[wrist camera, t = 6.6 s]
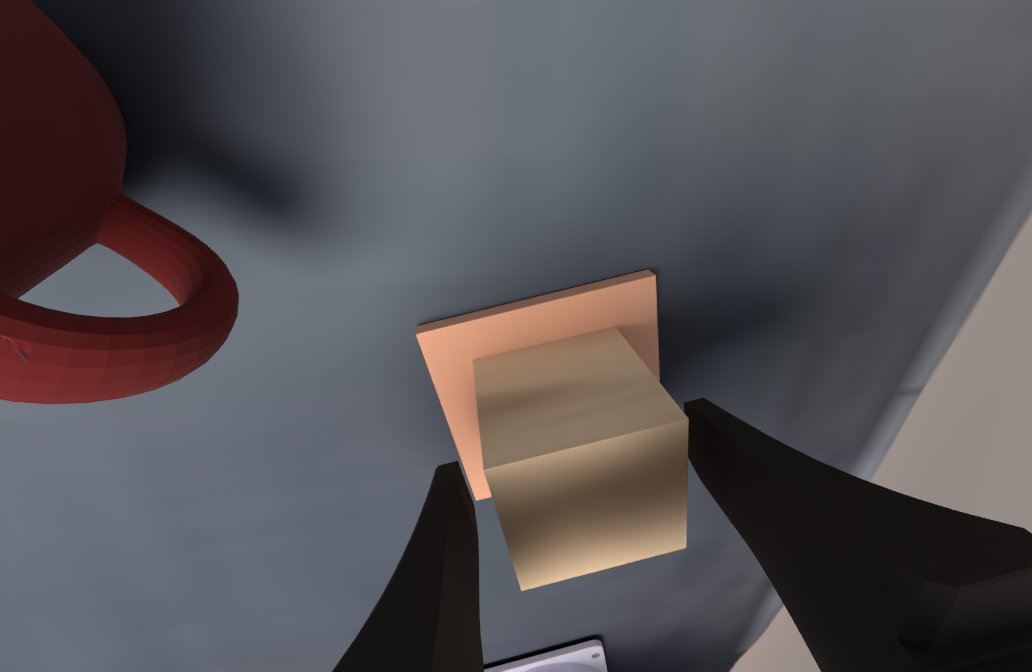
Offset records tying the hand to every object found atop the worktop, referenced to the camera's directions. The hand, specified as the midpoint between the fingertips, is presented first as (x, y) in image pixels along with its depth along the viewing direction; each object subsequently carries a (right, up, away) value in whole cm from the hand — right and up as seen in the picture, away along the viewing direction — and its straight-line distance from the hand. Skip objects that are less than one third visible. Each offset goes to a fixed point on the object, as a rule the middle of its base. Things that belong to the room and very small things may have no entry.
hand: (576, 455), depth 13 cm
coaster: (0, +2, +3) cm, 3 cm away
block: (0, +1, +2) cm, 3 cm away
